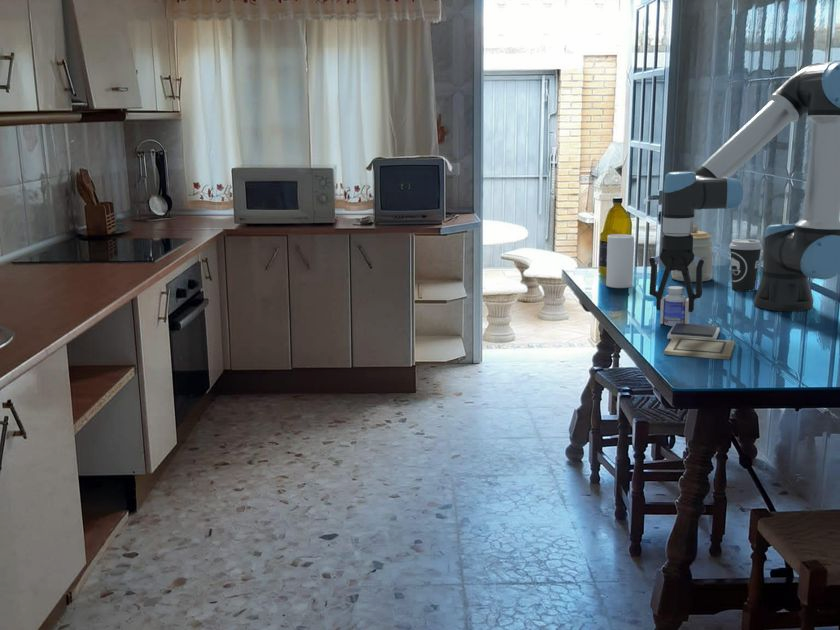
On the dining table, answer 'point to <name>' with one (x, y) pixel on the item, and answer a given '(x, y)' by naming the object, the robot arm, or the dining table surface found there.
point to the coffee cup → (744, 263)
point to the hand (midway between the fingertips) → (674, 323)
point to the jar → (700, 250)
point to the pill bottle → (674, 306)
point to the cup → (620, 260)
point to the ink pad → (693, 331)
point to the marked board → (700, 347)
